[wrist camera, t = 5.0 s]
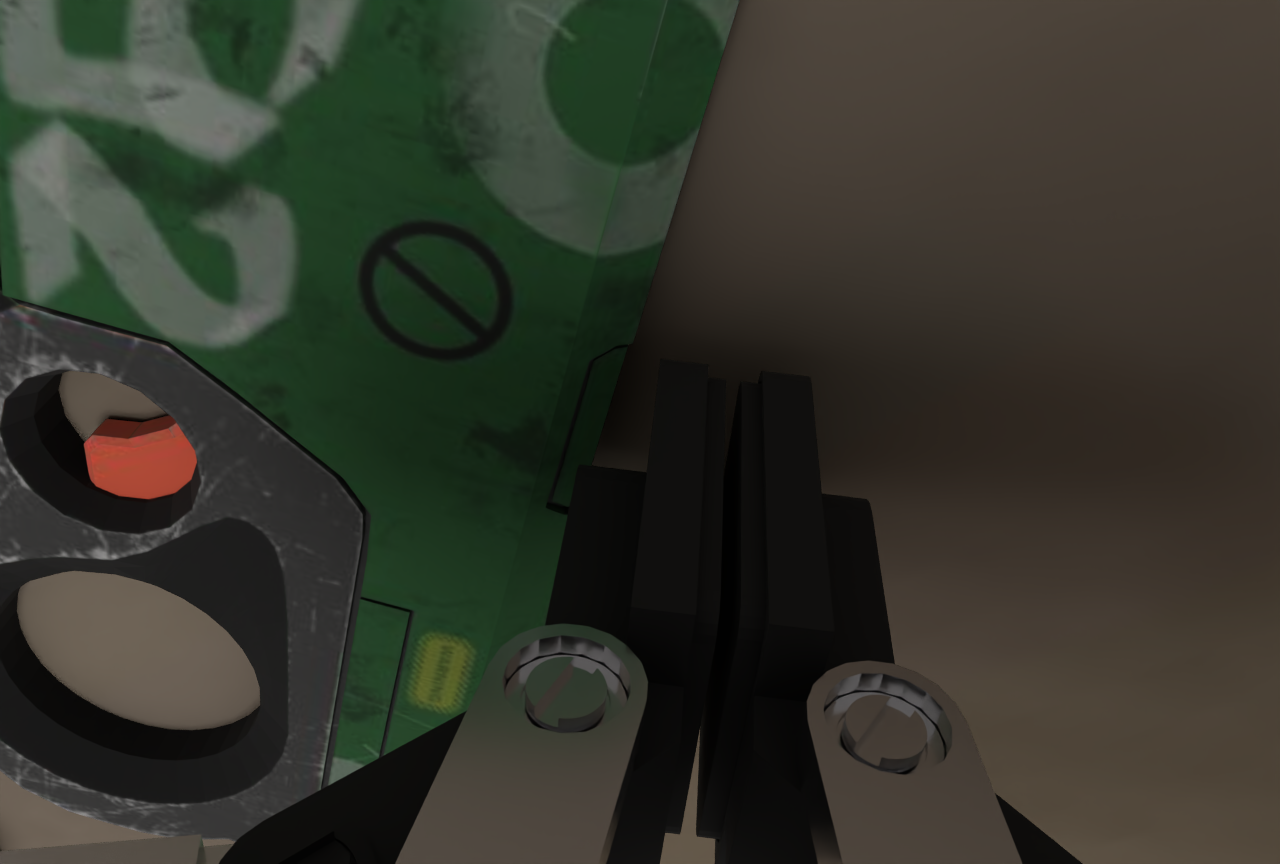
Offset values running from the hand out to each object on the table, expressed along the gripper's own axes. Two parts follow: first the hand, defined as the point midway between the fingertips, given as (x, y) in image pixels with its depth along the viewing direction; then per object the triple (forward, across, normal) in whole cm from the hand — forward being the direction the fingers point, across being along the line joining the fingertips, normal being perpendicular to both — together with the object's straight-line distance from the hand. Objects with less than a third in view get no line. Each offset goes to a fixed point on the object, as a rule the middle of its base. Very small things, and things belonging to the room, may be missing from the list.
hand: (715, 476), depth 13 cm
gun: (+1, +6, 0) cm, 6 cm away
